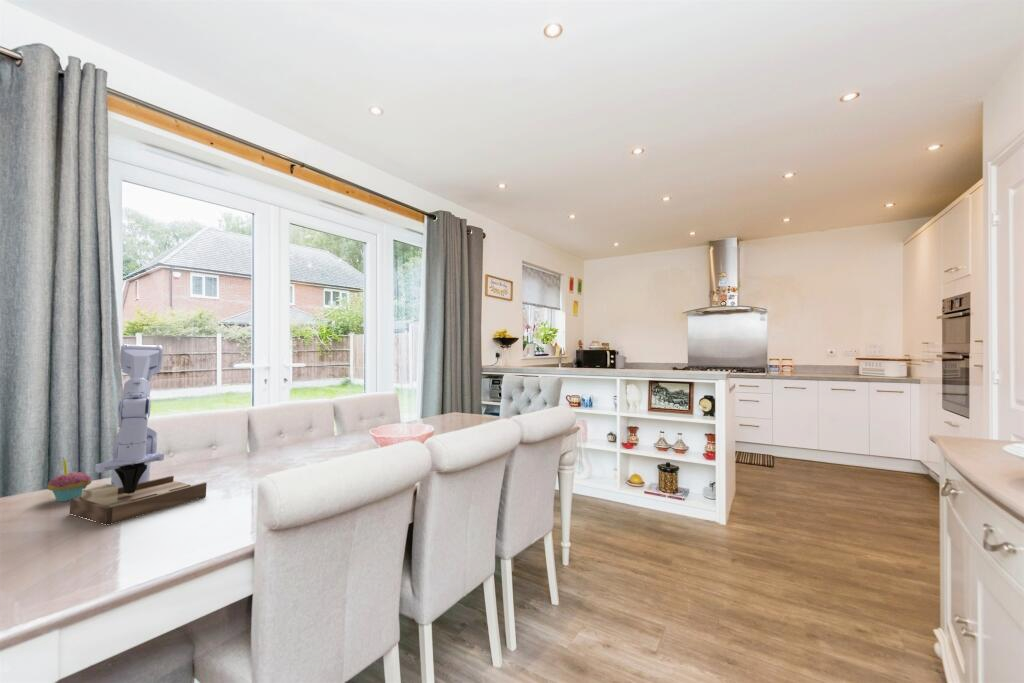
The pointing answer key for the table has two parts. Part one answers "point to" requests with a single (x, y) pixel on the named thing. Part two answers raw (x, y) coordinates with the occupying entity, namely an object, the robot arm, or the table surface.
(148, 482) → the trap track
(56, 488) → the cupcake
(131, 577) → the table surface
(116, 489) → the birch block
